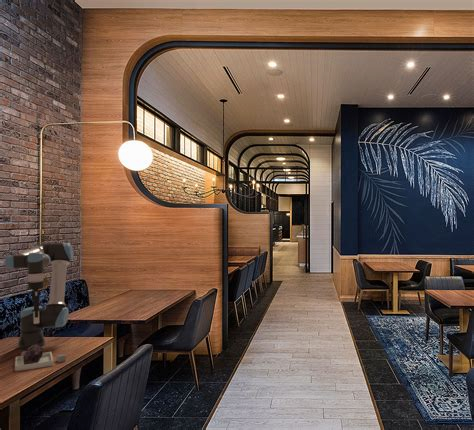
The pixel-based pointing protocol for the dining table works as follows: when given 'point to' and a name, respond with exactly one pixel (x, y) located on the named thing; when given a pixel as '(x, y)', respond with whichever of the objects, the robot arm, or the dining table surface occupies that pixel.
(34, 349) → the rock
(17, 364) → the dish
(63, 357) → the squat grey cube
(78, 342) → the dining table surface
